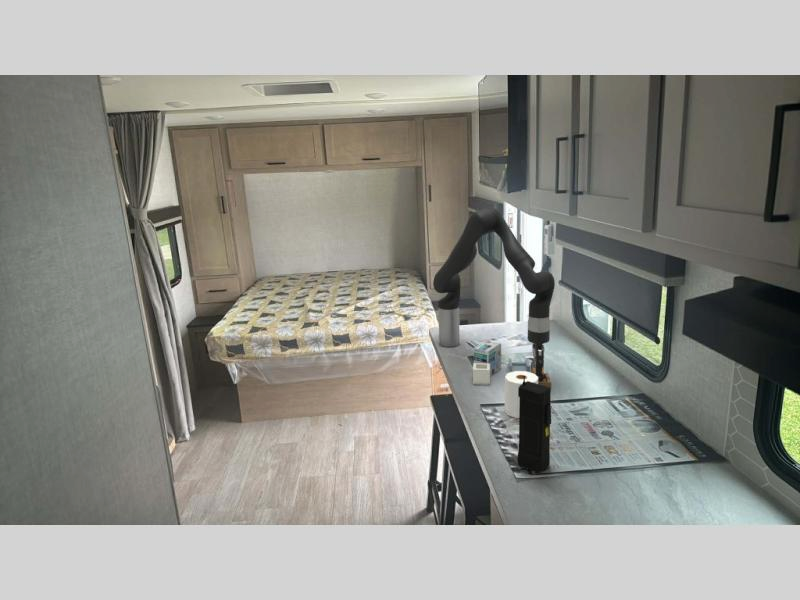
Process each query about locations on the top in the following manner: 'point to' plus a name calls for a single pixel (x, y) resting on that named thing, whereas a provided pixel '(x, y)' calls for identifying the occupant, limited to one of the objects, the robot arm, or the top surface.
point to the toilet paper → (515, 390)
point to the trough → (545, 380)
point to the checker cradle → (519, 366)
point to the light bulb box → (489, 355)
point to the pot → (481, 374)
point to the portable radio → (534, 426)
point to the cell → (540, 378)
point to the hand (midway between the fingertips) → (537, 371)
